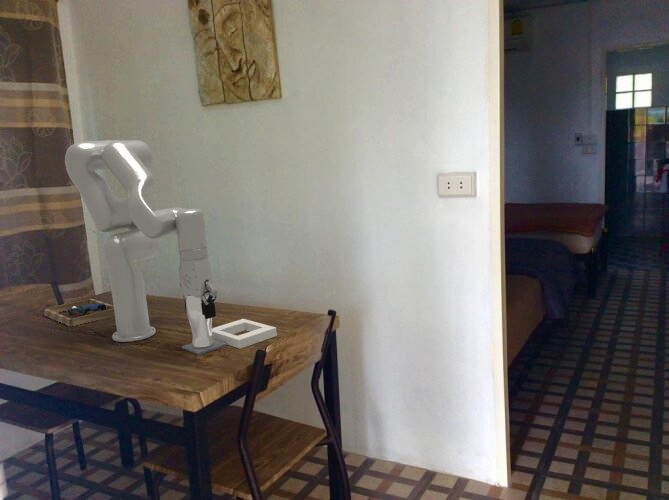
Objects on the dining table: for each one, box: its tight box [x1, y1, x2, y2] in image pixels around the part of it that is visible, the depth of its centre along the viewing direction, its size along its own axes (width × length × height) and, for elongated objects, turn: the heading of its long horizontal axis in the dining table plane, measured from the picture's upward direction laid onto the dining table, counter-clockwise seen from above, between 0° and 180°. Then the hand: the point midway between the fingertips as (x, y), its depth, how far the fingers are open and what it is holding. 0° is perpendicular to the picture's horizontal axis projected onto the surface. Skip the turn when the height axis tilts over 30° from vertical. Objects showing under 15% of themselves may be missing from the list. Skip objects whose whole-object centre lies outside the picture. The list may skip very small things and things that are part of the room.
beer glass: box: [185, 294, 214, 348], centre depth 168 cm, size 7×7×15 cm
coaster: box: [181, 339, 228, 356], centre depth 169 cm, size 9×9×1 cm
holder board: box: [212, 318, 278, 350], centre depth 176 cm, size 16×13×2 cm
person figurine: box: [68, 303, 106, 316], centre depth 212 cm, size 11×4×18 cm
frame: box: [43, 297, 115, 328], centre depth 213 cm, size 24×17×2 cm
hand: (200, 314), depth 168 cm, fingers open, 9 cm apart
